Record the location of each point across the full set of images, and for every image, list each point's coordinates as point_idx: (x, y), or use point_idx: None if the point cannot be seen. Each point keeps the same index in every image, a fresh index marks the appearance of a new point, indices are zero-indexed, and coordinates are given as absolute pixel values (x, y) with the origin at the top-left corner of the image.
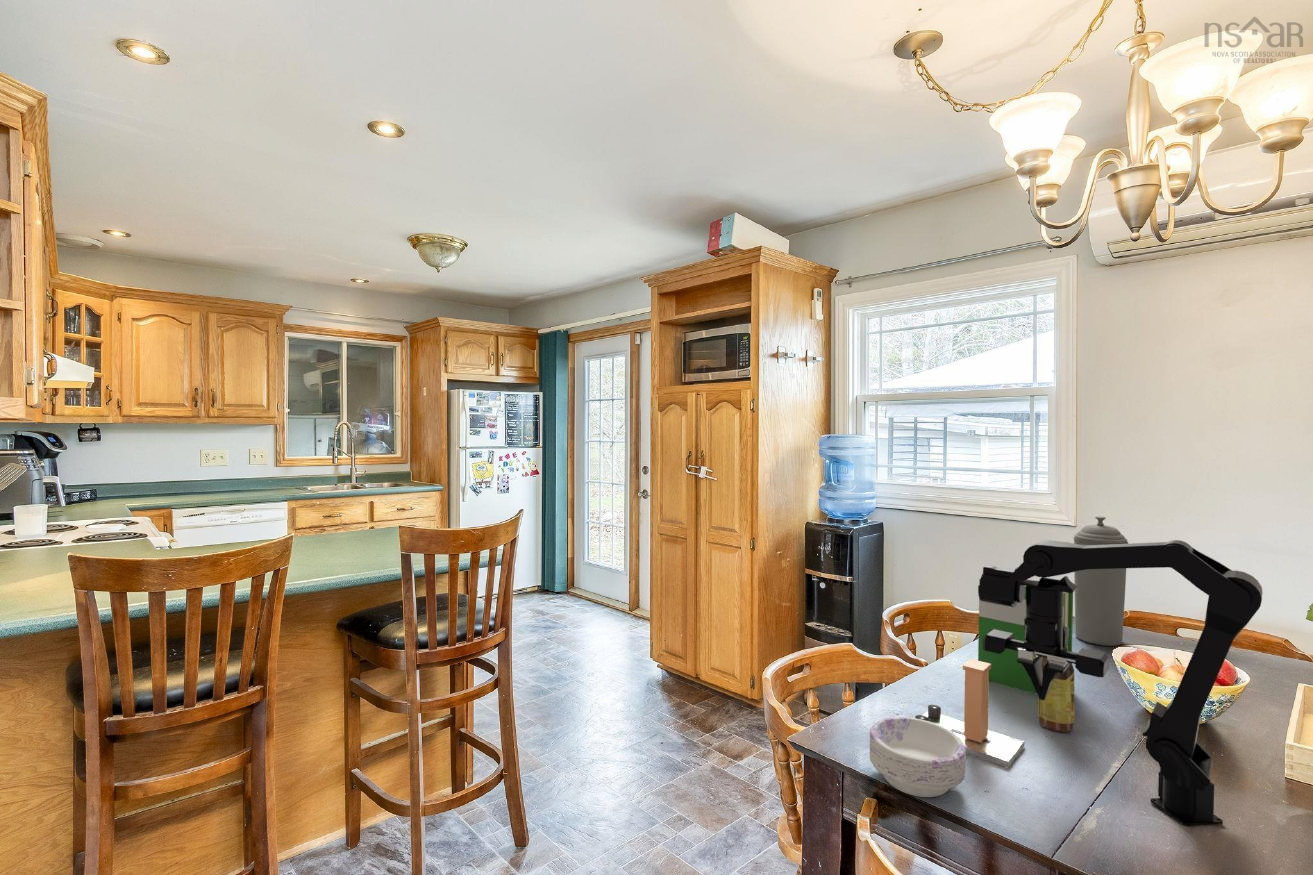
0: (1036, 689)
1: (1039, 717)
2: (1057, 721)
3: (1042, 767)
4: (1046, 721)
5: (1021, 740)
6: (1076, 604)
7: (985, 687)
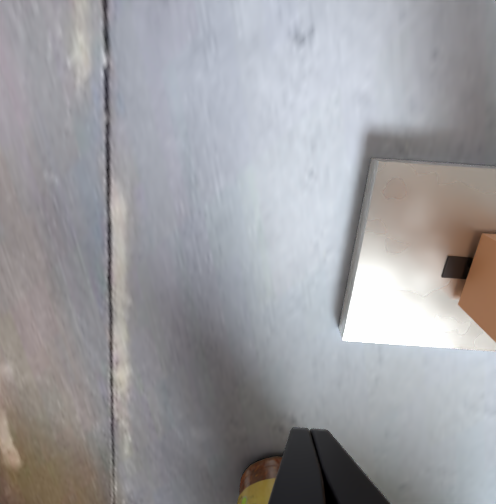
0: (372, 496)
1: None
2: (272, 482)
3: (275, 237)
4: None
5: (350, 340)
6: None
7: None
